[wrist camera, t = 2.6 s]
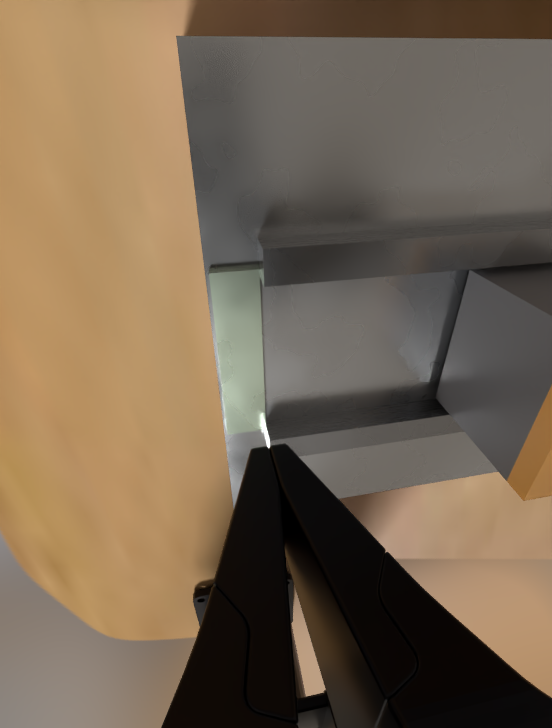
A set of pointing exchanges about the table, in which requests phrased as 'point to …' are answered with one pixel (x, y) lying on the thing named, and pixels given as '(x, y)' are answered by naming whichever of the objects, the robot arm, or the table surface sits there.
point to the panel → (359, 234)
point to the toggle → (505, 373)
